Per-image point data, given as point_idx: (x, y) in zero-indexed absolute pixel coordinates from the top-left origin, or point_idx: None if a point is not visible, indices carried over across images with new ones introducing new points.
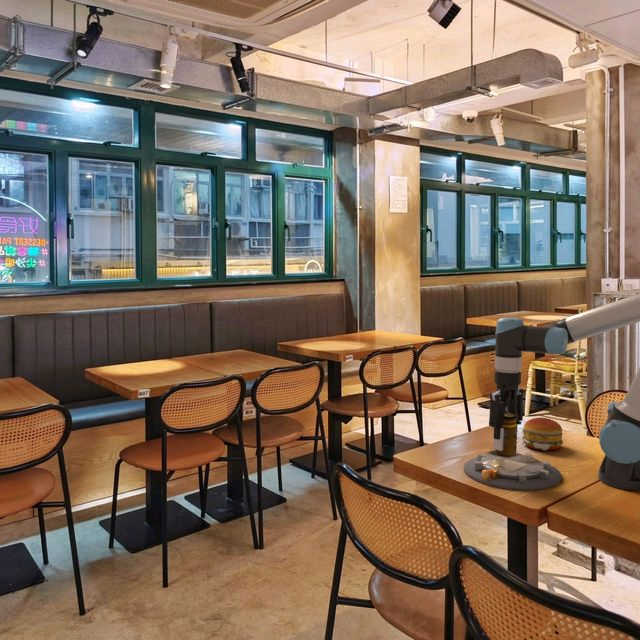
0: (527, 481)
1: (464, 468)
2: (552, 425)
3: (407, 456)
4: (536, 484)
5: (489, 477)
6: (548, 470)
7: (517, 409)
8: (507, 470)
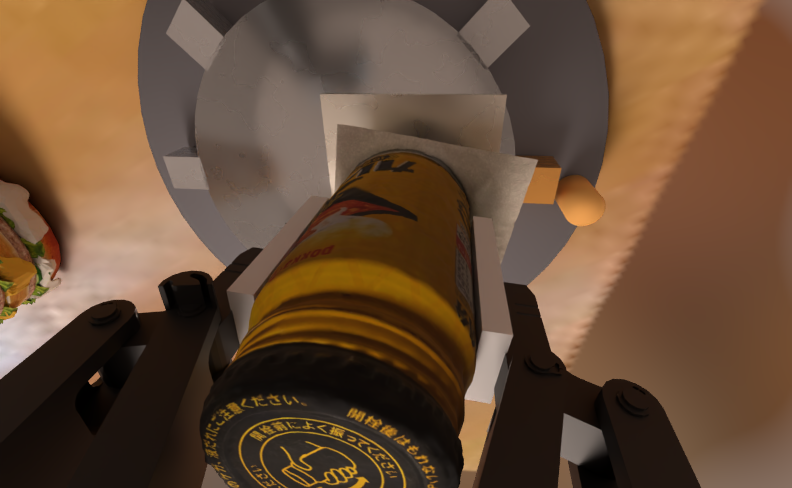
0: (460, 6)
1: None
2: None
3: (475, 456)
4: None
5: None
6: None
7: (33, 465)
8: (503, 126)
